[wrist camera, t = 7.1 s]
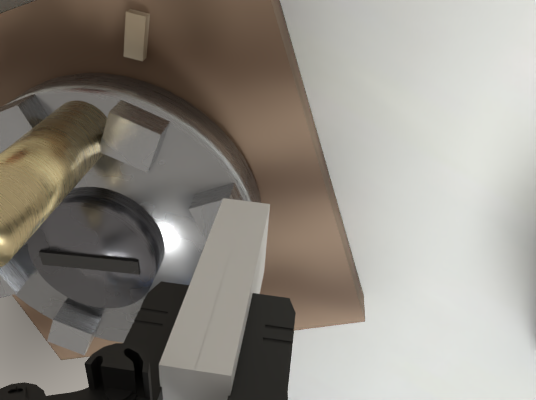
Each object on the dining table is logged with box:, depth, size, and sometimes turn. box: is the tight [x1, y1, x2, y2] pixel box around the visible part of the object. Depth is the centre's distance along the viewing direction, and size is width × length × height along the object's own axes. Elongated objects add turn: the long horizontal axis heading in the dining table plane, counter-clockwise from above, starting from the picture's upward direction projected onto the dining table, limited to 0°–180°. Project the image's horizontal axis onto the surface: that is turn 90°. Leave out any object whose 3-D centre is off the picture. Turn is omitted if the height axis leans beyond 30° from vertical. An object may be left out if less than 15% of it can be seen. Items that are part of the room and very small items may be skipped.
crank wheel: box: [0, 73, 261, 355], centre depth 21 cm, size 14×14×10 cm
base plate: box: [0, 0, 365, 360], centre depth 26 cm, size 20×20×2 cm
